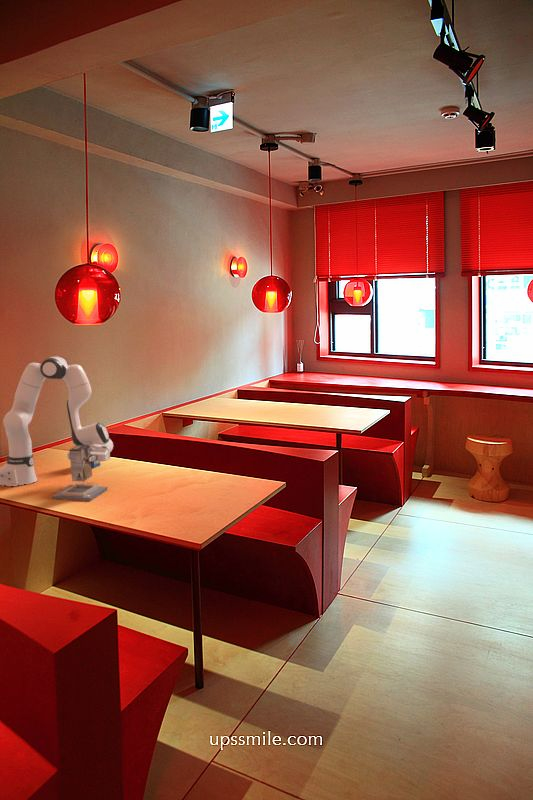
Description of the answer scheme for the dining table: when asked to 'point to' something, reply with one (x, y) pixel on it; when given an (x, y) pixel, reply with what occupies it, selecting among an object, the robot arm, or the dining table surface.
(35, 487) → the dining table surface
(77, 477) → the coffee box
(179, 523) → the dining table surface
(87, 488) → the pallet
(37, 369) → the robot arm
